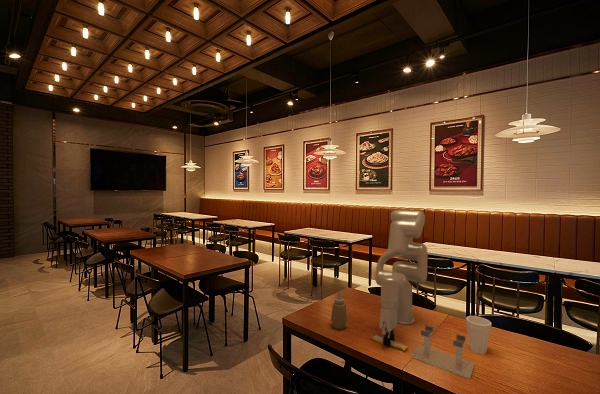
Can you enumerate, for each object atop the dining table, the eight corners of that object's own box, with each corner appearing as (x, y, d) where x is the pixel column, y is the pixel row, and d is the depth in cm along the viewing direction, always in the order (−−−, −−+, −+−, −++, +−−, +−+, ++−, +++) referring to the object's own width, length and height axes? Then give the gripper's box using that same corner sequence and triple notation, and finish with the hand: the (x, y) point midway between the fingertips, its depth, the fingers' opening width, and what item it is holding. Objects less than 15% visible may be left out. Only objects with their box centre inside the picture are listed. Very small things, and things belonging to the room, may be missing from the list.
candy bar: (369, 339, 130) (369, 335, 130) (373, 336, 134) (373, 332, 134) (405, 353, 119) (405, 349, 119) (408, 349, 123) (408, 345, 123)
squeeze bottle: (348, 325, 144) (349, 290, 144) (344, 332, 137) (344, 296, 137) (333, 322, 148) (334, 288, 148) (328, 328, 140) (329, 293, 140)
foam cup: (482, 358, 116) (483, 327, 116) (461, 347, 124) (461, 318, 124) (495, 352, 121) (495, 322, 120) (473, 342, 129) (474, 314, 129)
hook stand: (419, 347, 124) (419, 321, 124) (474, 366, 111) (474, 337, 110) (412, 357, 116) (412, 330, 116) (470, 379, 103) (470, 348, 103)
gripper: (388, 296, 135) (388, 334, 135) (373, 306, 122) (373, 348, 122) (404, 300, 130) (403, 339, 130) (390, 311, 117) (389, 354, 118)
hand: (388, 343), depth 126 cm, fingers closed on candy bar, 4 cm apart
